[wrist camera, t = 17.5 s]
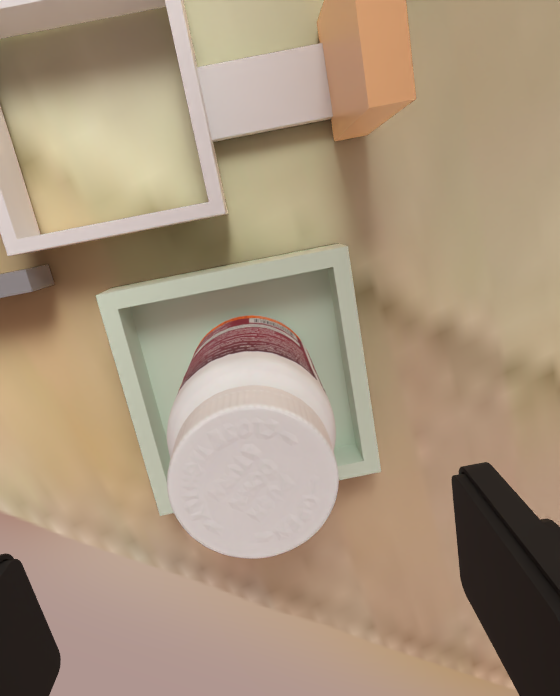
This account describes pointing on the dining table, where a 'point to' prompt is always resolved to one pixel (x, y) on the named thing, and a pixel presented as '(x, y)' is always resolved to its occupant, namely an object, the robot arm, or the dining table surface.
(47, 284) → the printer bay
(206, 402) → the pill bottle
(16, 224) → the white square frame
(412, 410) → the dining table surface
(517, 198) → the dining table surface
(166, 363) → the tray
